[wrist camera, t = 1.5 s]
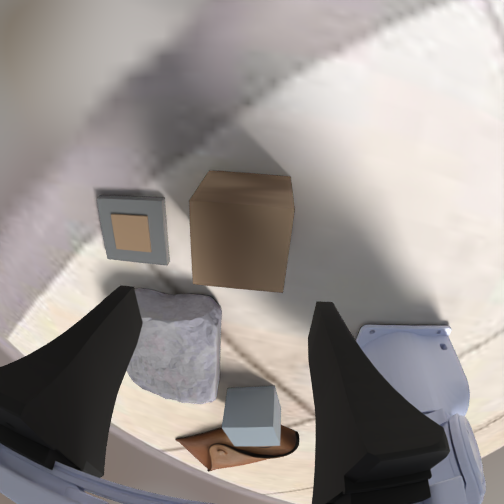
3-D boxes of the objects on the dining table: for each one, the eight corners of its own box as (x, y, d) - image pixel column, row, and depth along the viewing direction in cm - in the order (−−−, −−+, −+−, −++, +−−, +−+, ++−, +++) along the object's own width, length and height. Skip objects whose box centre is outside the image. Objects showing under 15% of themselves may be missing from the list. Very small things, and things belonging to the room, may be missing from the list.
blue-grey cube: (274, 385, 30) (273, 426, 26) (281, 407, 33) (280, 445, 28) (227, 387, 31) (221, 427, 27) (238, 409, 33) (234, 446, 29)
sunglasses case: (256, 411, 33) (273, 461, 29) (289, 405, 38) (305, 448, 34) (171, 439, 41) (183, 477, 37) (205, 434, 46) (216, 470, 42)
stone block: (144, 354, 32) (228, 382, 30) (122, 384, 28) (212, 419, 26) (126, 265, 26) (232, 292, 24) (93, 294, 22) (209, 333, 20)
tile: (164, 197, 20) (160, 202, 19) (169, 260, 23) (166, 266, 22) (100, 195, 20) (95, 199, 19) (110, 254, 23) (106, 260, 22)
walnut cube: (290, 176, 19) (294, 209, 15) (282, 246, 21) (282, 292, 17) (209, 170, 19) (189, 200, 15) (209, 239, 22) (193, 284, 17)
